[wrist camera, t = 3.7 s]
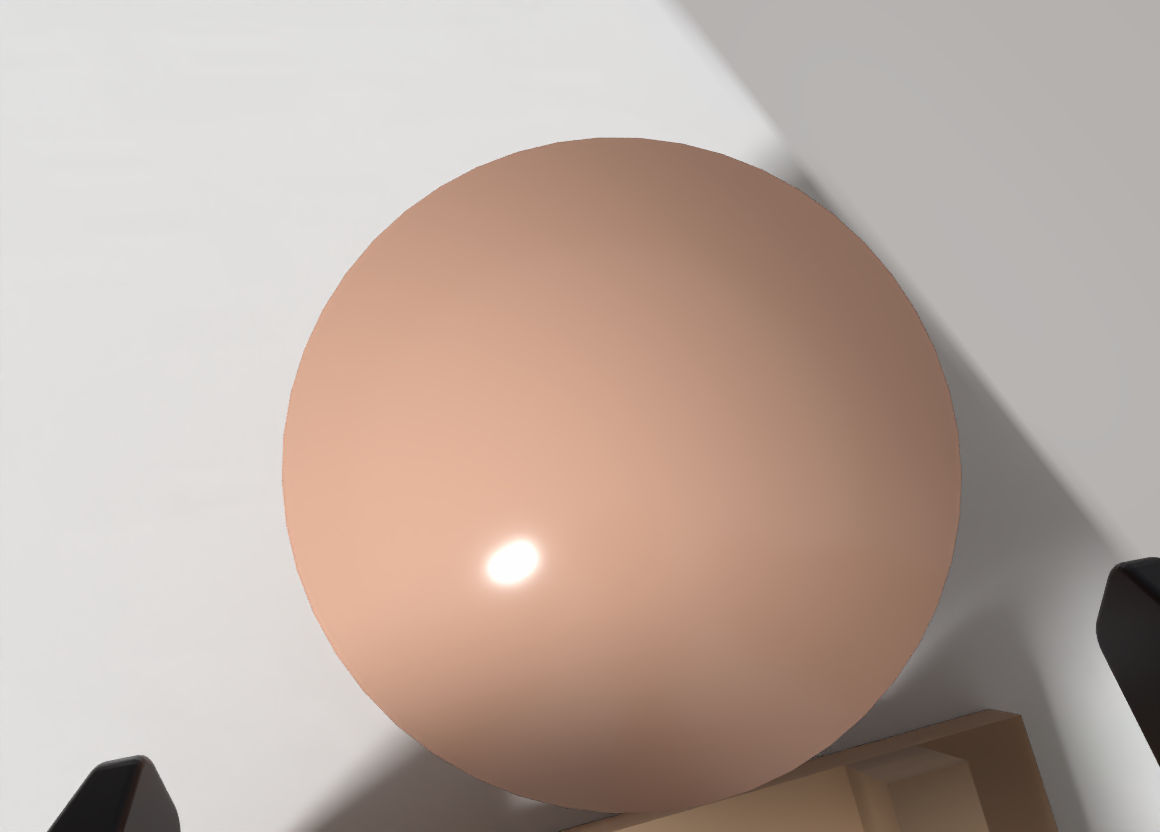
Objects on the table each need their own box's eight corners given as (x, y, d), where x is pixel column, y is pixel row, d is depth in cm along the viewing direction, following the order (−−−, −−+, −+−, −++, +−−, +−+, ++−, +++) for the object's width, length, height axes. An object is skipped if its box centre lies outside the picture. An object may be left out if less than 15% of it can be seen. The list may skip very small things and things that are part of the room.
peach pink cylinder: (747, 695, 18) (1008, 779, 9) (415, 724, 18) (291, 846, 8) (713, 374, 19) (912, 121, 10) (399, 396, 19) (272, 153, 9)
